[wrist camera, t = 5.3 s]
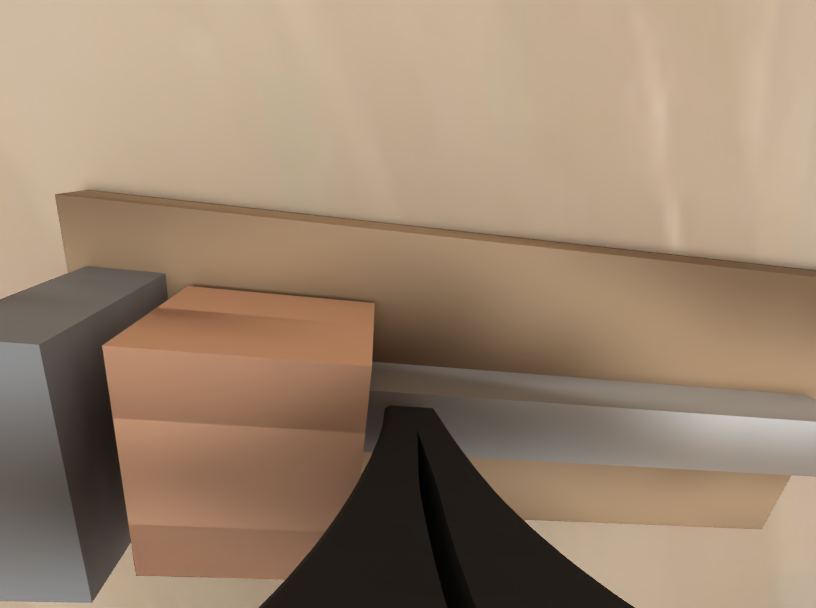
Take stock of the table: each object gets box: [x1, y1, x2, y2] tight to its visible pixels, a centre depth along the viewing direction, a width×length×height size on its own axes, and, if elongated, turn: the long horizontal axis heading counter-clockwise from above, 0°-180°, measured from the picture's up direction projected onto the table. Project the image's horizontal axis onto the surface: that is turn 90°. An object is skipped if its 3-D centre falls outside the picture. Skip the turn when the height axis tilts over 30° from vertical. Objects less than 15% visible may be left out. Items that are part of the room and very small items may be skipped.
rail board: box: [0, 190, 816, 603], centre depth 12 cm, size 10×24×6 cm, turn 83°
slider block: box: [102, 286, 375, 579], centre depth 11 cm, size 6×5×4 cm
